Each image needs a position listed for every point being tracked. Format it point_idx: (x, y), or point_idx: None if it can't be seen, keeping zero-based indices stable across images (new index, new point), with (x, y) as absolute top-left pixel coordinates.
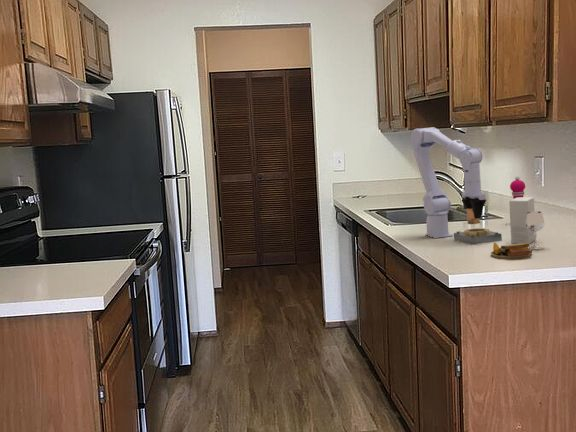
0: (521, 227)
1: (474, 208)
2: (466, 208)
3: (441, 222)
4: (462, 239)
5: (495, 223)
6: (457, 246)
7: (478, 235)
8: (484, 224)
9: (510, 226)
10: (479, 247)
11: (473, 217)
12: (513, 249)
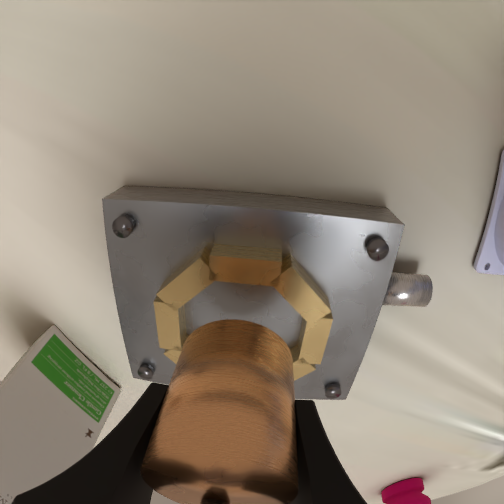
0: (1, 382)
1: (84, 458)
2: (327, 480)
3: None
4: (248, 197)
5: (466, 455)
6: (120, 85)
7: (151, 281)
8: (489, 435)
9: (12, 375)
10: (32, 177)
11: (169, 387)
12: None
